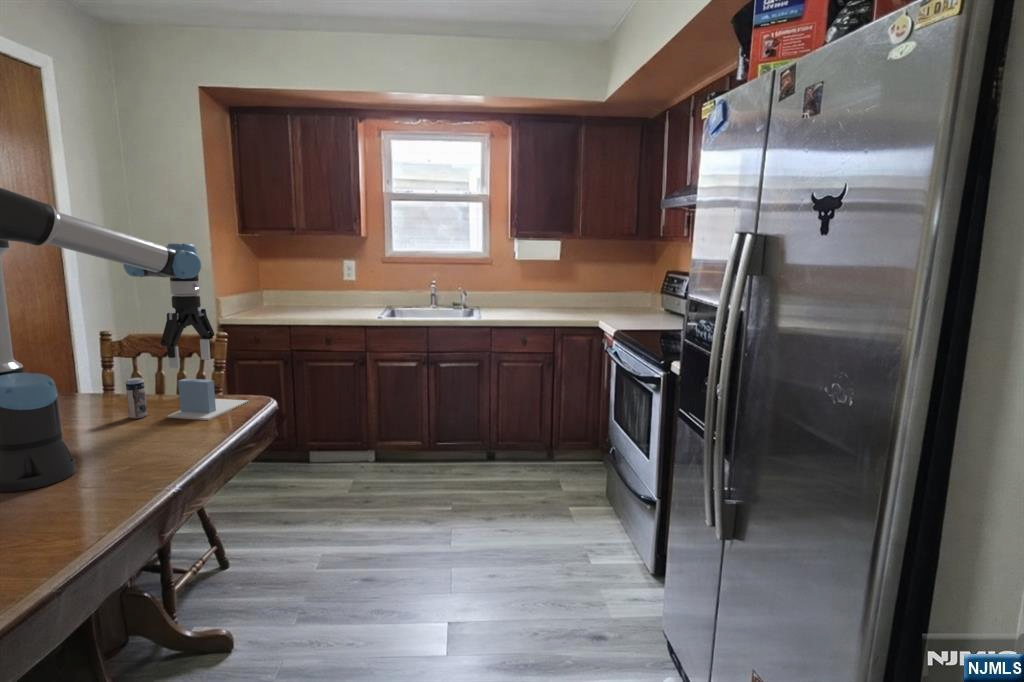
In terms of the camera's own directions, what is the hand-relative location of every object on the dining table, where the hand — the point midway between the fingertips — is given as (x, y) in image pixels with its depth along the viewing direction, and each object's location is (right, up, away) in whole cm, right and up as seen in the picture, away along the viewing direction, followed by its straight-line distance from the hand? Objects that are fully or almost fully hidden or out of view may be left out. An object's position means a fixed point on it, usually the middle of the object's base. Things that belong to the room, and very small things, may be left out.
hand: (190, 363), depth 170 cm
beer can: (-16, -17, -1) cm, 23 cm away
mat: (+2, -15, +8) cm, 17 cm away
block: (0, -15, +4) cm, 16 cm away
